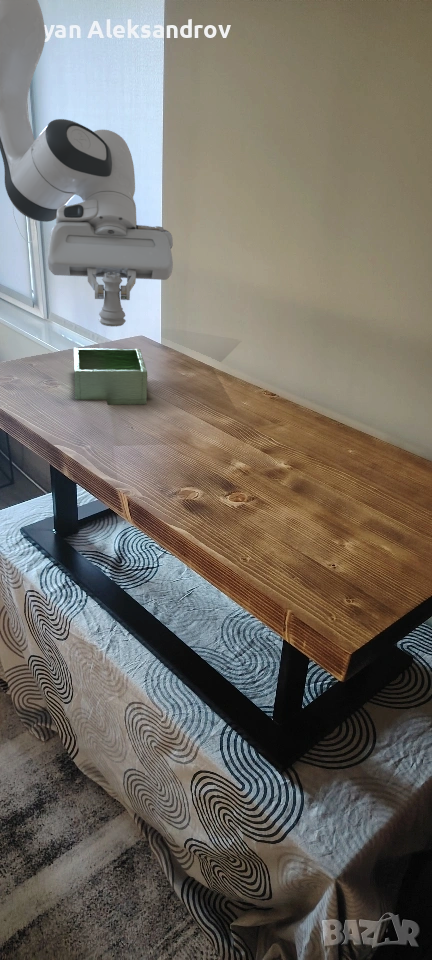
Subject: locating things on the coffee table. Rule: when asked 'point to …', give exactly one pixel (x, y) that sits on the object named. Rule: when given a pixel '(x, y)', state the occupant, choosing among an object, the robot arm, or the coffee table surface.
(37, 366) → the coffee table surface
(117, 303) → the rook chess piece
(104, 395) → the green planter box
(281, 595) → the coffee table surface
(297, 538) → the coffee table surface
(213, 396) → the coffee table surface
